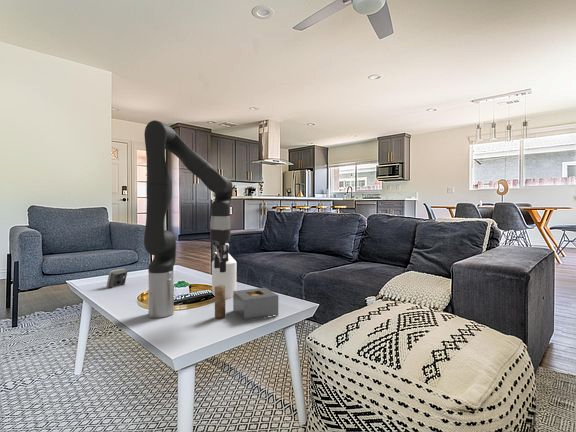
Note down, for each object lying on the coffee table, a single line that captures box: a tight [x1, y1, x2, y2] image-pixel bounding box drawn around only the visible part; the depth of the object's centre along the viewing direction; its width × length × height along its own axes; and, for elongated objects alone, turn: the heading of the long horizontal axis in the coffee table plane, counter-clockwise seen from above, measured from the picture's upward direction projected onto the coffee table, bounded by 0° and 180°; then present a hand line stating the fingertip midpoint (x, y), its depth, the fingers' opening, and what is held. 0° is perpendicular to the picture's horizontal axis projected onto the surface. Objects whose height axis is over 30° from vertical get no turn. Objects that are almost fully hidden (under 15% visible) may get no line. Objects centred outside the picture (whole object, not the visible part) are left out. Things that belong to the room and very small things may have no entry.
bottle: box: [211, 242, 238, 299], centre depth 157 cm, size 12×12×25 cm
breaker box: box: [232, 287, 279, 322], centre depth 130 cm, size 14×14×8 cm
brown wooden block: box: [214, 285, 226, 320], centre depth 125 cm, size 4×4×12 cm
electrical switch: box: [106, 268, 128, 289], centre depth 176 cm, size 9×5×9 cm, turn 159°
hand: (219, 270), depth 125 cm, fingers open, 8 cm apart
